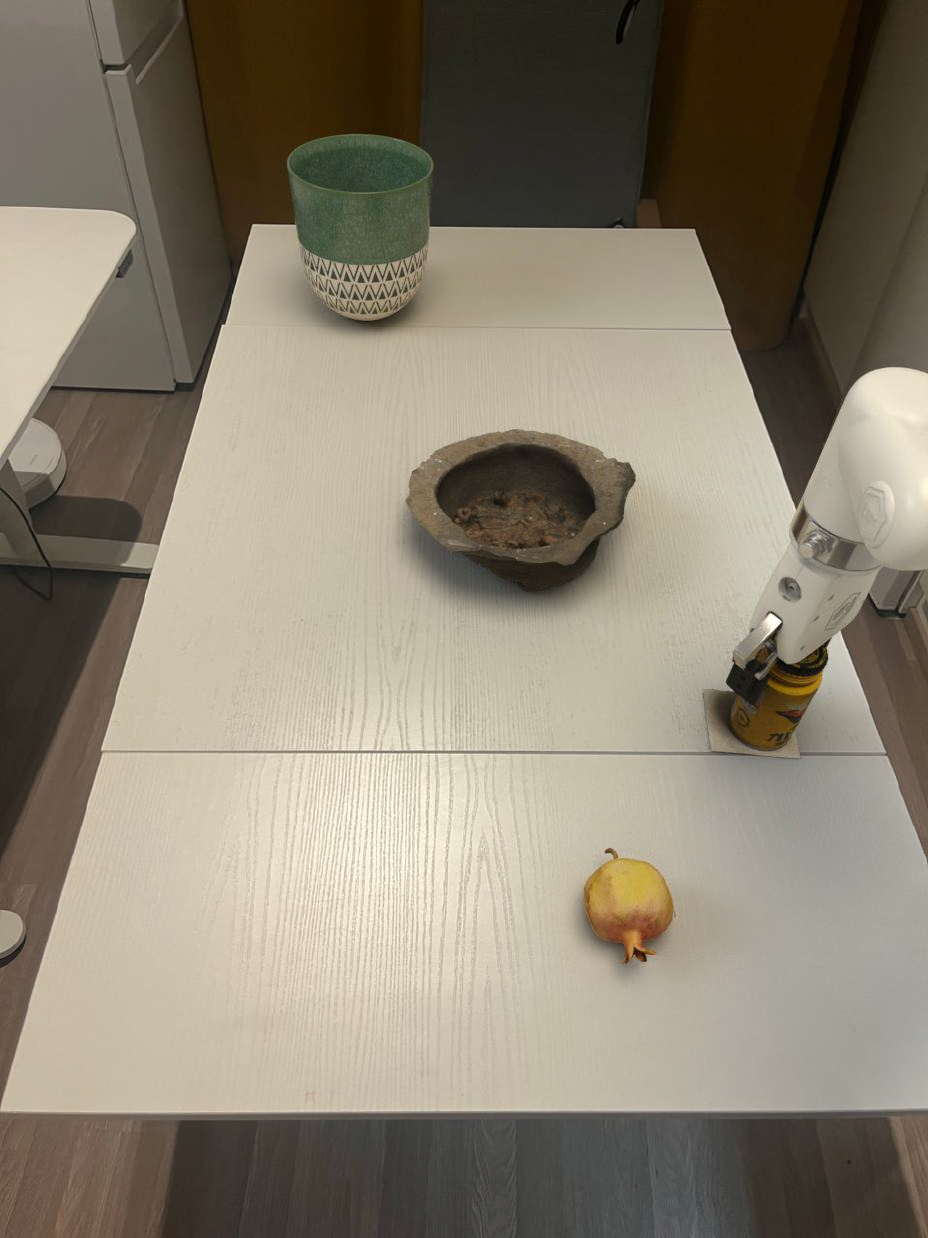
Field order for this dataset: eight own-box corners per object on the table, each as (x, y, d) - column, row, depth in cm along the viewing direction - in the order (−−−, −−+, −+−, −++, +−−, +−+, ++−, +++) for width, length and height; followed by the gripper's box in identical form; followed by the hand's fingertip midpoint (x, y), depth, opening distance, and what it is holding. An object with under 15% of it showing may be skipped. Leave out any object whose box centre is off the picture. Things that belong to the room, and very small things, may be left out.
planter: (294, 283, 140) (279, 136, 124) (416, 273, 143) (416, 130, 127) (310, 350, 127) (296, 197, 111) (443, 338, 131) (448, 188, 115)
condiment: (800, 759, 84) (846, 681, 75) (710, 752, 84) (746, 673, 75) (786, 697, 89) (828, 617, 80) (702, 690, 89) (734, 609, 80)
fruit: (571, 829, 72) (589, 951, 65) (657, 816, 71) (684, 939, 64) (581, 868, 77) (598, 985, 70) (661, 856, 76) (687, 974, 69)
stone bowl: (613, 632, 93) (622, 570, 86) (384, 599, 98) (375, 537, 91) (636, 483, 109) (644, 420, 102) (438, 460, 114) (433, 398, 107)
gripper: (817, 607, 62) (747, 744, 75) (950, 509, 70) (866, 648, 82) (733, 546, 66) (680, 686, 78) (868, 459, 73) (800, 600, 86)
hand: (775, 667), depth 80 cm, fingers open, 9 cm apart
